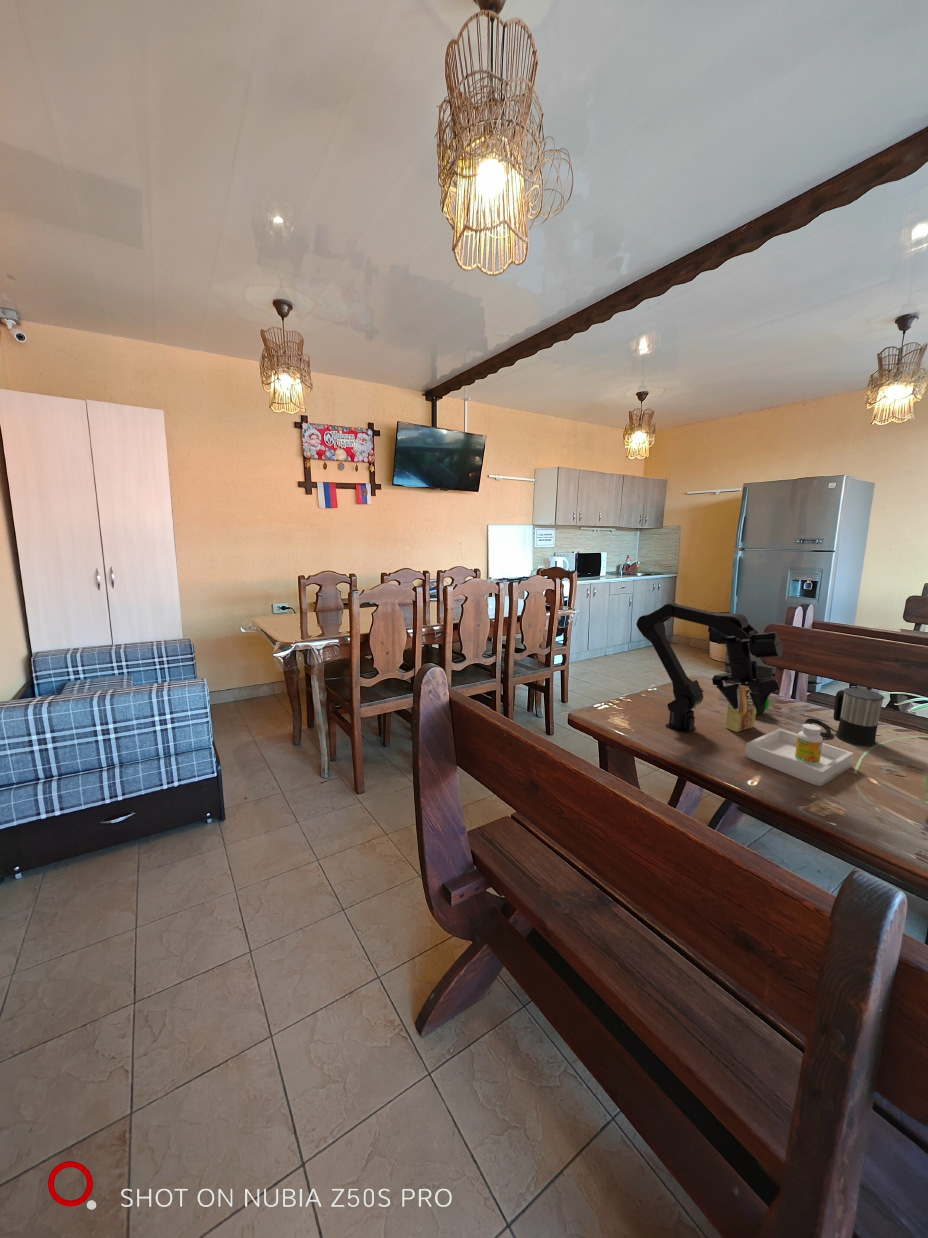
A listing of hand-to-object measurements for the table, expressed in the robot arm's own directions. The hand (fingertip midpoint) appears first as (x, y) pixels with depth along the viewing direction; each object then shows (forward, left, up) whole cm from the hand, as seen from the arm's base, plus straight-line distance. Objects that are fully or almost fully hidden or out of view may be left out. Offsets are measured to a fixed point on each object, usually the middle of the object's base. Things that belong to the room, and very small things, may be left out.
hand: (748, 711), depth 130 cm
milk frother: (+11, +31, -11) cm, 35 cm away
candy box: (-8, +13, -11) cm, 19 cm away
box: (+12, +4, -11) cm, 17 cm away
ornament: (-12, +29, -11) cm, 33 cm away
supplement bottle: (+14, +5, -10) cm, 18 cm away
